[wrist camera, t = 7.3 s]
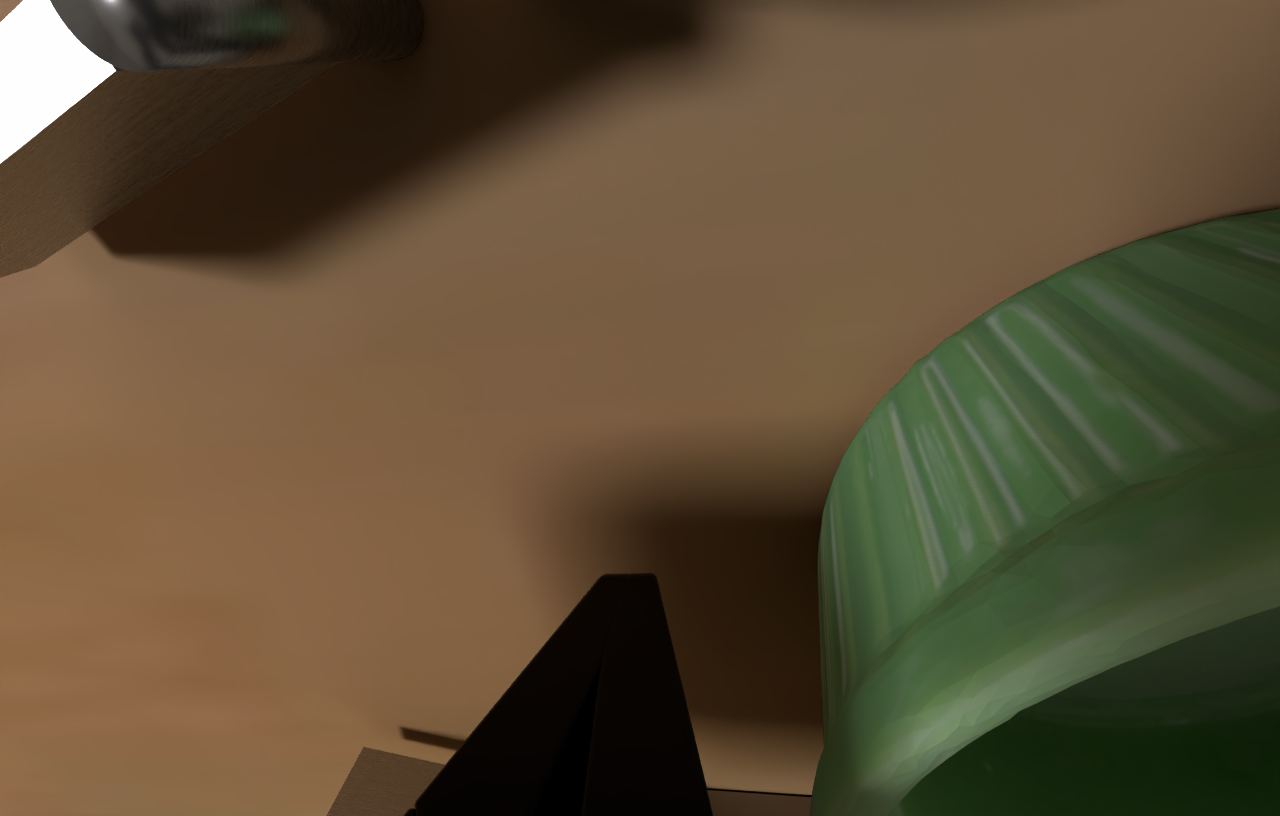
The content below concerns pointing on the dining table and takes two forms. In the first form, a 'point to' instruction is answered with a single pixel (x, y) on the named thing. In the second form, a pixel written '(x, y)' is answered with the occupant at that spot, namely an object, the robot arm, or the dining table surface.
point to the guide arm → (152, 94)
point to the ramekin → (1068, 551)
